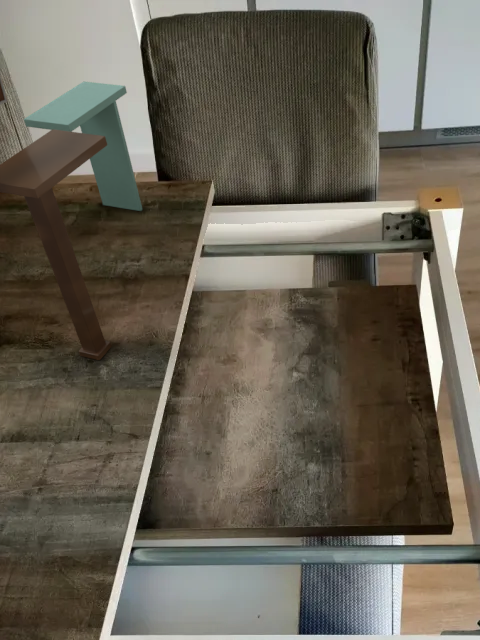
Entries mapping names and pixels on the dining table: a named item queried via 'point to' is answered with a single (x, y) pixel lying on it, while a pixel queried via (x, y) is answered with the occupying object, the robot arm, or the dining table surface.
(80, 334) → the side stand
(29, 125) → the teal plank stand
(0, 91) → the food container
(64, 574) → the dining table surface
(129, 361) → the dining table surface
